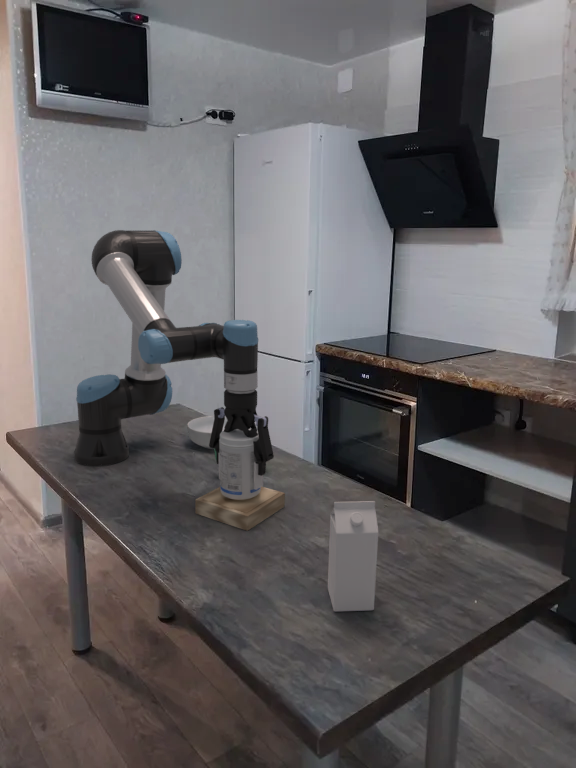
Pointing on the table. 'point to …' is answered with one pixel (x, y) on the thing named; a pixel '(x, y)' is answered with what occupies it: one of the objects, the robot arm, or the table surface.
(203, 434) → the cereal bowl
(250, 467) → the supplement tub
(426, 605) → the table surface
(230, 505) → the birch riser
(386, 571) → the table surface
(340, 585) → the milk carton
